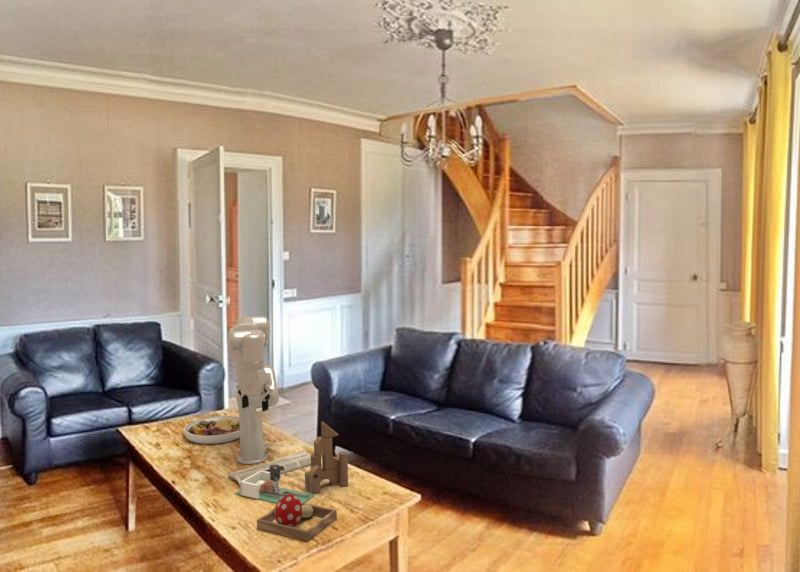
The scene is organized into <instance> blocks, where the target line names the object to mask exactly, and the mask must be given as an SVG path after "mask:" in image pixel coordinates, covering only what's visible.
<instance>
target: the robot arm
mask: <svg viewBox="0 0 800 572" xmlns="http://www.w3.org/2000/svg"><path fill="white" fill-rule="evenodd" d="M269 321H270V320H269V319H268V318H267V317H266V316H264V315H253V316H244V317H240V318H238V319H237V320H236V322H235V325H234V326H232V327H231V328H229V330H228V332H227V344H228V345H227V346H228V350H229V353H230V355H231V358H232V359H233V362H234V364H235V367H236V376H237V377H236V378H237V383H238V385H236V386H235V388H236V394H235V400H236V404H237V409H238V417H239V424H240V438H239V441H240V442H239V443H240V444H239V445H240V454H239V455H238V456H237V457H236V461H237V463H239V464H242V465H255V464H260V463H262V462H265V461H266V460H267V459H268V453H266V450H268V449H270V448H271V445H270V444H269V443H267V444H265V445H264V429H263V427H264V425H263V423H264V422H263V417H262V414H261V413H260V412H259V411H258V410H257V409H261V411H262V412H266V411H269V408H270V407H275V406H277V405H278V404H279V399H280V395H279V394H280V393H279V388H278V384H277V383H278V382H277V376H276V373H275V369H274V368H273V366H271V365H269V364H268V365H266V364H265V365H264V348H266V347H267V346H268V344H269V339H270V332H271V331H270V325H271V324H270V322H269Z"/></svg>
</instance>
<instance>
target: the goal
mask: <svg viewBox="0 0 800 572" xmlns="http://www.w3.org/2000/svg"><path fill="white" fill-rule="evenodd" d="M259 480H263V481H265V482H267V481H268V480H270V472H267V471H262V470H260V471H259V472H257V473H255V474H253V475H251V476H250V477H248V478H246V479H244V480H242V481H241V482H240V485H239V490H240V495H239V496H241V495H243V497H246V496H247V497H246V498H250V497H252V498H251V499H255V498H256V500H259V499H258V498H259V484H256V483H257V482H258V481H259Z"/></svg>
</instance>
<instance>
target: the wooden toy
mask: <svg viewBox="0 0 800 572" xmlns="http://www.w3.org/2000/svg"><path fill="white" fill-rule="evenodd" d="M320 425H321V426H320V428H321V436H317V437H316V438H315V440H314V441H313V453H314V454H313V453H312V454H310V455H311V466H310V469H309V471H305V472H304V489H305V490H306V491H307V492H309V494H313V495H316V494H319V493H321V482H322V481H324V480H328V481H329V484H330V485H332V486H336V485H339V486H340V487H347V486H349V463H348V462H349V461H348V452H347V451H340V452H338V457H335V456H334V455H333V437H338V436H339V433H338V432H336V431H335V430H334V429H332V428H331V427H330V426H329V425H328V424H327V423H325V422H324V421H321V422H320Z"/></svg>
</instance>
